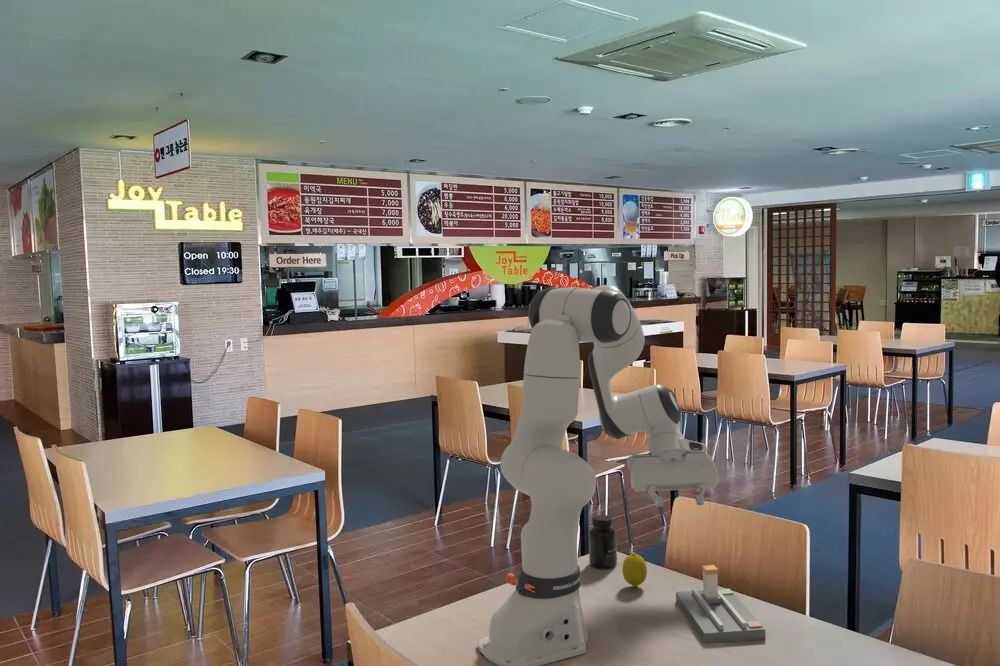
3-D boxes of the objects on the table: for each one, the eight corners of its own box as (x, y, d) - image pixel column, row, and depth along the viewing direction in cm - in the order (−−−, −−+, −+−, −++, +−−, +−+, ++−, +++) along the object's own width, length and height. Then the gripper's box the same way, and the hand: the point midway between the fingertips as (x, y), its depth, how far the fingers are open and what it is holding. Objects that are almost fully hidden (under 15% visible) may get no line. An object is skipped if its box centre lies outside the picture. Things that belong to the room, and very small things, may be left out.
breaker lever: (700, 596, 169) (700, 564, 169) (714, 595, 169) (713, 563, 169) (706, 603, 165) (705, 571, 165) (720, 602, 166) (720, 570, 165)
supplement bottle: (616, 570, 192) (614, 522, 191) (588, 569, 193) (586, 521, 192) (618, 560, 198) (616, 513, 198) (590, 559, 200) (589, 513, 199)
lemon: (650, 584, 182) (649, 551, 182) (641, 593, 177) (640, 558, 177) (628, 580, 185) (627, 547, 184) (619, 589, 180) (617, 555, 180)
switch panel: (676, 600, 173) (675, 587, 172) (729, 597, 173) (729, 584, 173) (704, 643, 153) (704, 628, 153) (765, 639, 153) (765, 624, 153)
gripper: (627, 447, 186) (637, 499, 177) (712, 444, 187) (727, 496, 178) (623, 461, 190) (633, 513, 181) (706, 458, 191) (720, 509, 182)
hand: (680, 504), depth 179 cm, fingers open, 8 cm apart
